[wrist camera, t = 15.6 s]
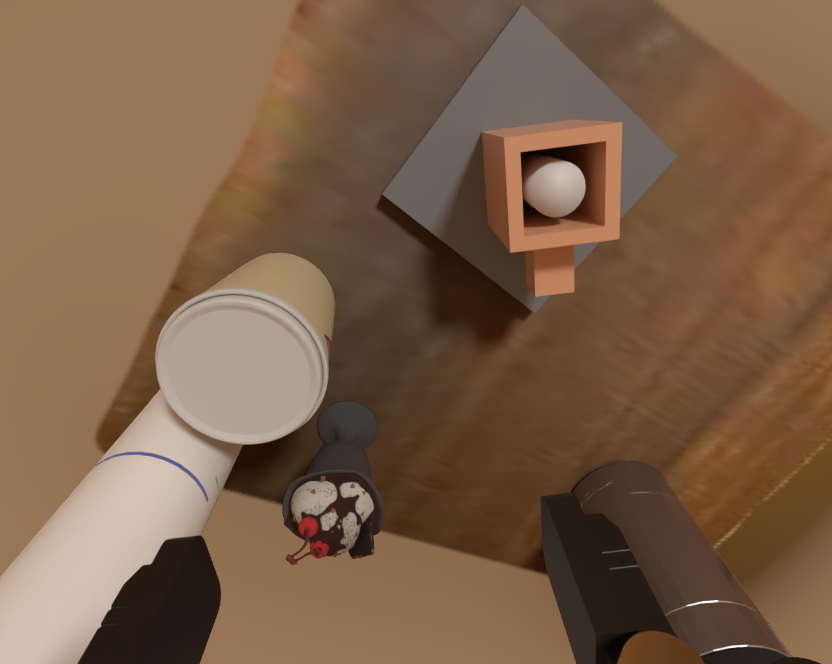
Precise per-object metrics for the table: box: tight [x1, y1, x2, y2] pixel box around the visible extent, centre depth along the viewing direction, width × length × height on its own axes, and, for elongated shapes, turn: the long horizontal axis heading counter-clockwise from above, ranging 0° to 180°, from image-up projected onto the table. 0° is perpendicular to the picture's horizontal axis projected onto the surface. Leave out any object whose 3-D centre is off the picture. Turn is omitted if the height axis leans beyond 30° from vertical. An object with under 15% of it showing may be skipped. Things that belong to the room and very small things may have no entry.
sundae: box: [282, 401, 385, 565], centre depth 37 cm, size 7×7×15 cm
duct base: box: [382, 4, 678, 313], centre depth 33 cm, size 14×14×8 cm
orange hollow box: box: [482, 120, 622, 297], centre depth 33 cm, size 6×10×8 cm, turn 7°
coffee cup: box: [155, 253, 335, 444], centre depth 34 cm, size 9×9×12 cm
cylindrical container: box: [0, 389, 243, 664], centre depth 31 cm, size 7×7×25 cm
